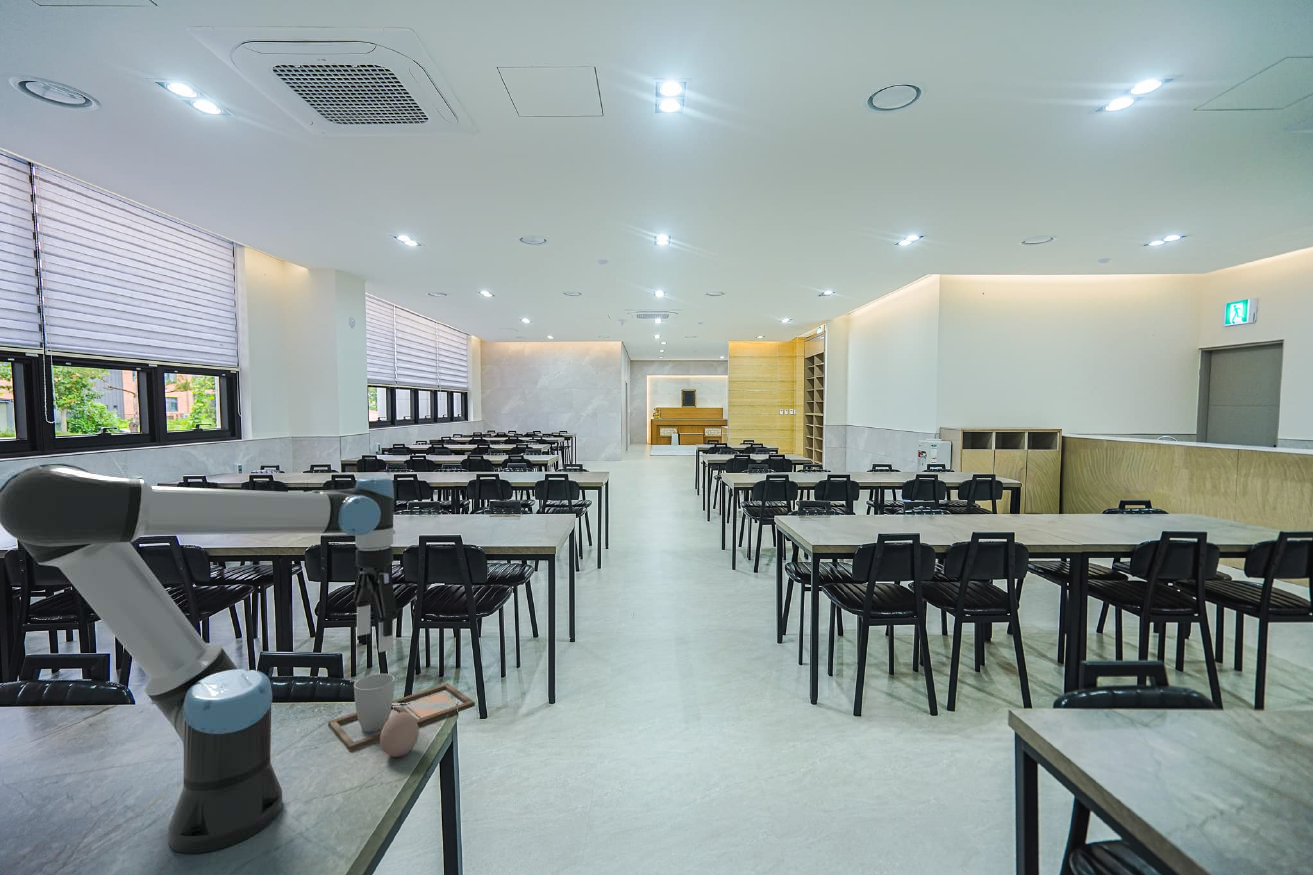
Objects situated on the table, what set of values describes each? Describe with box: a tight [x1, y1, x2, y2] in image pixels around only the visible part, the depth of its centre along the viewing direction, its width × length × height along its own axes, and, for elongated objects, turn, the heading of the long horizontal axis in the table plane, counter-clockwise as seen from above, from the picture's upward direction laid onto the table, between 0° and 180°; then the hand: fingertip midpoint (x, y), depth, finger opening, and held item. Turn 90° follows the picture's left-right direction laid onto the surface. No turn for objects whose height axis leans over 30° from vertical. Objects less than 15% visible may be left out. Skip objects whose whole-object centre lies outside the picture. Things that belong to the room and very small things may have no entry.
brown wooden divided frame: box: [327, 683, 476, 752], centre depth 130 cm, size 14×28×1 cm, turn 136°
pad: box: [407, 692, 455, 719], centre depth 134 cm, size 9×9×1 cm
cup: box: [353, 673, 395, 733], centre depth 125 cm, size 8×8×10 cm
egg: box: [379, 712, 420, 758], centre depth 114 cm, size 7×7×8 cm
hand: (374, 642), depth 125 cm, fingers open, 13 cm apart
